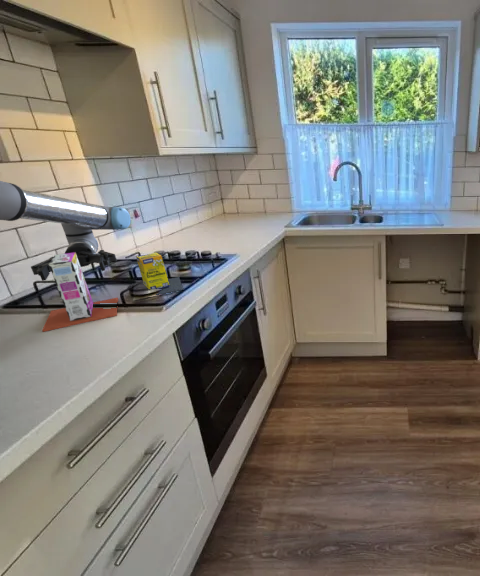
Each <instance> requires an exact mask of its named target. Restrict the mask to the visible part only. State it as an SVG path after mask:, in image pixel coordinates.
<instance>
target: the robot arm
mask: <svg viewBox="0 0 480 576" xmlns="http://www.w3.org/2000/svg"><path fill="white" fill-rule="evenodd" d="M20 219H21V220H30V221H38V222H47V223H54V224H55V223H56V224H60V225H61V227H62V229H63V232H64V236H65V238H66V240H67V244H68V246H67V247H66V249H65V251H64V254H65V253H73V252H76V255H77V258H78V261H79V263H80V266H81V268H83V267H88V266H90V265H92V264H98V265H99V268H100V271H101V272H104V271H106V267H107V266H110V264H111V263H118V259H117V257H116V253H112V252H109V251H105V250H104V249H99V243H98V240H97V239H96V237H95V236H94V232H93V231H99V230H101V231H102V230H107V231H108V230H111V231H112V230H113V231H115V230H116V231H119V230H126V229H128V228H129V227H130V225H131V223H132V222H131V221H132V220H131V215H130V213H129V211H128V210H127V209H125V208H124V207H119V206H112V207H111V206H105V205H98V204H94V203H90V202H84V201H79V200H75V199H69V198H65V197H59V196H56V195H50V194H45V193H41V192H36V191H31V190H27V189H23V188H22V187H20V185H17V184H15V183H11V182H7V181H3V180H0V221H7V222H16V221H18V220H20ZM53 257H54V256H51V257H49V258H48V259H46V260H43V261H40V262H38V263H36V264H34V265H31V266H30V268H31V272H32V273H33V275H34V276H37V275H38V276H39V277H40V279H41V281H42V282H43V281H47V279H48V277H50V274H51V273H52V272H51V269H50V267H49V263H50V262H51V260H52V259H53Z"/></svg>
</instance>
